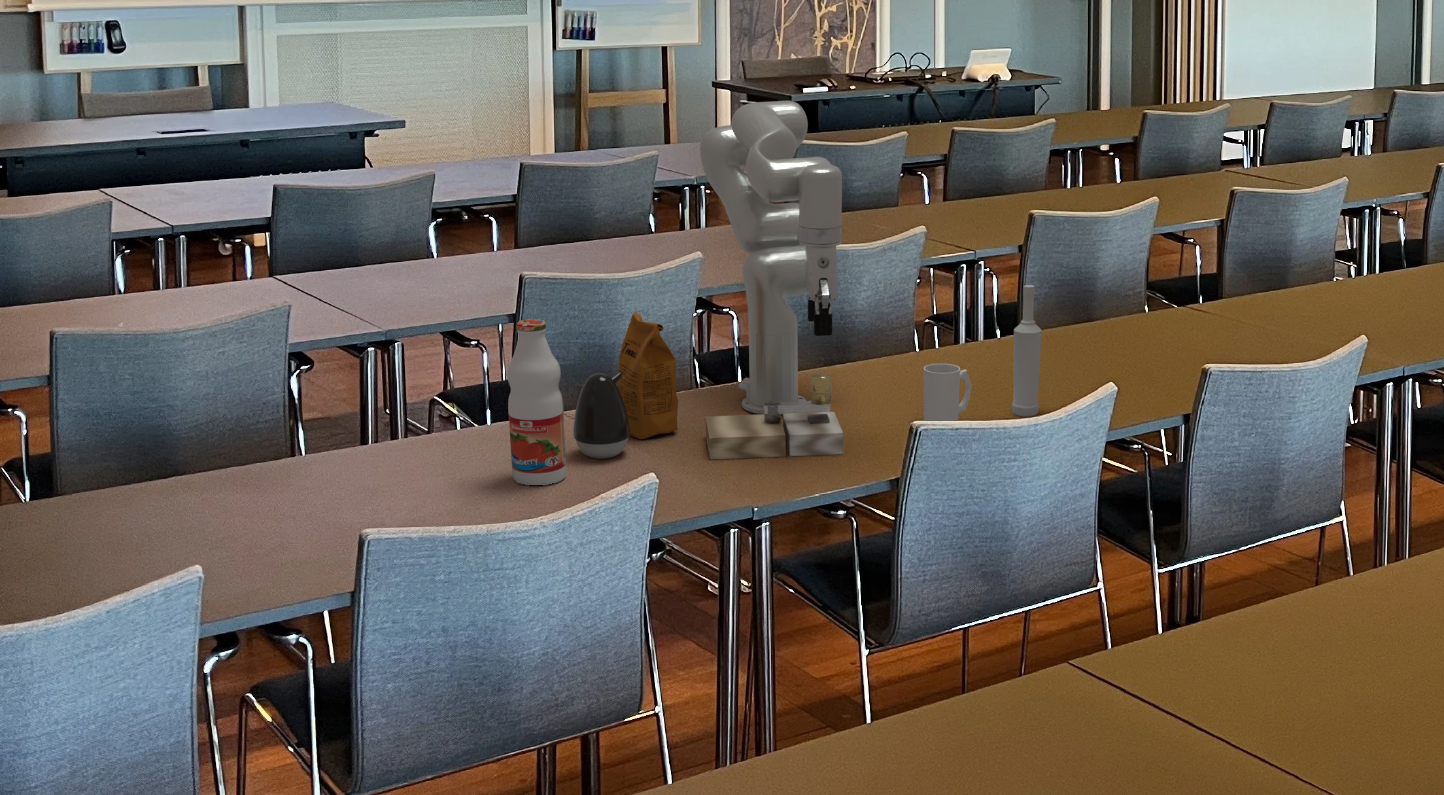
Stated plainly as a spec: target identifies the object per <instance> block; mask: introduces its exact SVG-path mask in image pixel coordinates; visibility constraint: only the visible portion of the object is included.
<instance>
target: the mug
mask: <svg viewBox="0 0 1444 795" xmlns="http://www.w3.org/2000/svg"><path fill="white" fill-rule="evenodd" d="M922 376H923V383H922V384H923V422H924V421H958V422H959V414H960V413H964V412H966V410H967V407H968V404H969V400H970V398H971V393H972V384H971V379H970V377H969V374H968V369H962V370H961V368H960V366H959V365H956V364H952V363H931V364H927V365H924V367H923V375H922ZM961 380H962V381H963V384H964V389H965V390H964V395H963V398H962V400H961V402H960V385H961ZM959 402H960V403H959Z"/></svg>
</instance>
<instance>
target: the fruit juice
mask: <svg viewBox="0 0 1444 795" xmlns="http://www.w3.org/2000/svg"><path fill="white" fill-rule="evenodd" d="M546 324H547V323H546V321H545V320H543V319H540V318H539V319H538V318H527V319H522V320H519V321H518V322H516V330H517V331H516V333H518V338H517V342H516V346H515V350H514V352H513V356H512V357H511V360H510V362H509V364H508V366H507V371H506V375H507V380H508V384H509V387H510V393H509V396H508V400H507V401H508V402H507V403H508V404H507V405H508V407H507V409H508V410H507V411H508V423H509V425H508V426H509V442H510V456H511V458H510V459H511V460H510V461H511V473H512V478H513V480H514V482H515V483H517V484H519V483H521V484H520V485H523V484H524V486H529V485H543V486H549V484H550V485H553V484H552V483H554V484H556V483H559V482H561V481H563V480H564V479H565V478H566V474H567V457H566V456H567V455H566V441H565V440H566V437H565V416H564V401H563V396H562V393H561V391H560V389H559V385H560V382H561V381H560V380H561V375H562V374H561V367H560V364H559V362H558V360H557V359H556V358H555V356H554V355H553V353H552V351H551V348H550V346H549V343H548V340H547V338H546V334H545V333H546V331H547V325H546Z"/></svg>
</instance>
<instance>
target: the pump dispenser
mask: <svg viewBox="0 0 1444 795" xmlns="http://www.w3.org/2000/svg"><path fill="white" fill-rule="evenodd" d="M621 377H622V374H621V373H620V372H618V371H617V373H615V374H613V376H609V374H605V373H600V372H597V373H593V374H591V375H590V376H588V378H587V379H586V380H585V382H584V384H583V386H582V388H581V389H580V393H579V395H578V396H579V397H578V400H577V403H576V407H575V413H574V421H573V430H572V431H573V432H572V433H573V438H574V440H575V442H576V445H577V447H578V448H579V450H580V452H582V454H584V455H585V456H587V457H589V458H592V459H598V460H600V459H601V460H603V459H611V458H614V457H616V456H617V455H619V454H621V453H622V452H623V451H624V450H625V448H626V446H627V444H628V440H629V437H631V436H630V426H629V420H628V415H627V411H626V407H625V404H624V401H623V398H622V396H621V393H620V391H619V389H618V387H617V381H618V380H619V379H620V378H621Z"/></svg>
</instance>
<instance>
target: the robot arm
mask: <svg viewBox="0 0 1444 795" xmlns="http://www.w3.org/2000/svg"><path fill="white" fill-rule="evenodd" d="M730 122H731V124H730V125H729V124H728V125H722V126H717V127H714V128H712V129H710V130H708V131H707V132H706V133H705V134H704V135H703V136H702V138H701V141H700V144H699V145H700V146H699V153H700V160H701V165H702V169H703V171H704V175H705V177H706V180H708V182H709V184H710V186H711V188H712V189H713V191H714V192H715V193H716V194H717V196H718V197H719V199H720V201H721V202H722V204H723V206H724V209H725V212H726V214H727V217H728V220H729V223H730V226H731V227H732V230H733V233H734V236H735V238H736V241H737V243H738V246H739V247H740V249H742V250H743V252H745V253H747V254H748V255H747V256H746V257H745V258H744V261H743V264H742V278H743V283H744V284H743V285H744V289H745V294H746V301H747V315H748V317H747V318H748V319H747V321H748V354H749V356H748V357H749V358H748V361H749V362H748V363H749V364H748V365H749V368H748V369H749V371H748V372H749V377H745V378H743V380H742V382H740V383H738V389H739V390H740V391H746V392H745V393H746V397H744V398H742V401H741V407H742V408H743V410H745V411H747V412H749V413H753V414H755V415H762V414H764V402H787V401H807V399H806V398H805V397H804V396H802V395H800V394H799V369H798V368H799V366H798V362H799V358H798V357H799V356H798V354H799V353H798V352H799V351H798V348H799V347H798V345H799V344H798V318H797V315H796V314H795V311H794V310H793V309H792V308H791V307H790V305H789V304H788V303H787V302H786V300H785V299H786V298H788V297H792V296H801V295H804V296H805V295H808V299H807V320H808V322H813V334H814V336H817V337H821V336H822V337H823V336H824V337H825V336H828V337H829V336H832V334H833V312H832V300H833V301H835V302H836V301H837V300H838V299H839V288H838V287H839V283H838V282H839V281H838V280H839V279H838V276H839V275H838V253H837V246H840V245H841V244H842V223H843V222H842V220H843V218H842V214H843V213H842V210H843V209H842V205H843V202H842V201H843V200H842V198H843V179H842V178H843V173H842V171H841V169H840V168H839V167H838V166H835V165H833V164H831V162H830V161H829V160H828V159H827V158H825V157H822V156H813V157H812V156H811V157H795V155H796V152H797V149H798V148H799V147H800V146H801V145H802V143H803V142H804V140H805V139H806V136H807V134H808V126H809V124H808V123H809V122H808V117H807V115H806V112H805V111H804V109H803V107H802V106H801V105H800V104H799V103H797V102H796V101H793V100H778V101H777V100H776V101H758V102H750V103H747V104H744V105H742V106H740V107H738V109H736V111H735V112H734V113H733V115H732V117H731V121H730ZM794 157H795V158H794ZM741 168H745V171H746V172H745V171H744V170H742V169H741ZM789 201H798V202H789ZM782 202H786V203H782ZM787 202H789V203H787ZM783 414H788V413H781V415H782V416H783Z"/></svg>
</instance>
